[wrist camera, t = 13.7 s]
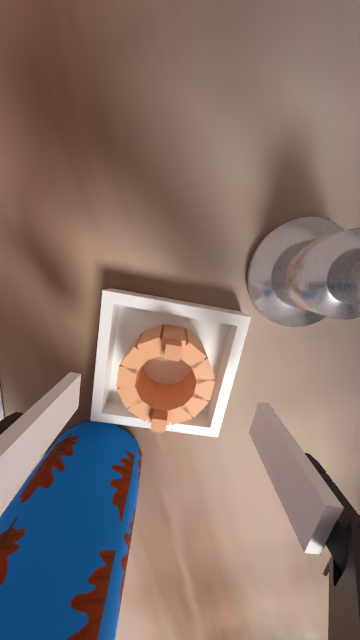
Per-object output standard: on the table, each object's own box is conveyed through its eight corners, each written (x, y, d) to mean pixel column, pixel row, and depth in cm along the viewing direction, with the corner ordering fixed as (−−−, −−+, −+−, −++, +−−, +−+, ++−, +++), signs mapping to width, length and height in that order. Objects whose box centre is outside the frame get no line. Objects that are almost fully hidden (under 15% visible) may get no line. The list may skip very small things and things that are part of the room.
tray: (241, 311, 19) (251, 317, 17) (212, 419, 22) (217, 437, 20) (111, 287, 19) (102, 290, 16) (99, 403, 21) (90, 420, 19)
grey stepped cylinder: (364, 231, 18) (740, 149, 6) (326, 331, 20) (544, 416, 8) (263, 208, 17) (464, 63, 5) (235, 315, 20) (332, 382, 8)
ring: (197, 401, 21) (204, 439, 16) (123, 390, 20) (108, 427, 16) (213, 332, 19) (227, 352, 14) (133, 318, 19) (119, 334, 14)
